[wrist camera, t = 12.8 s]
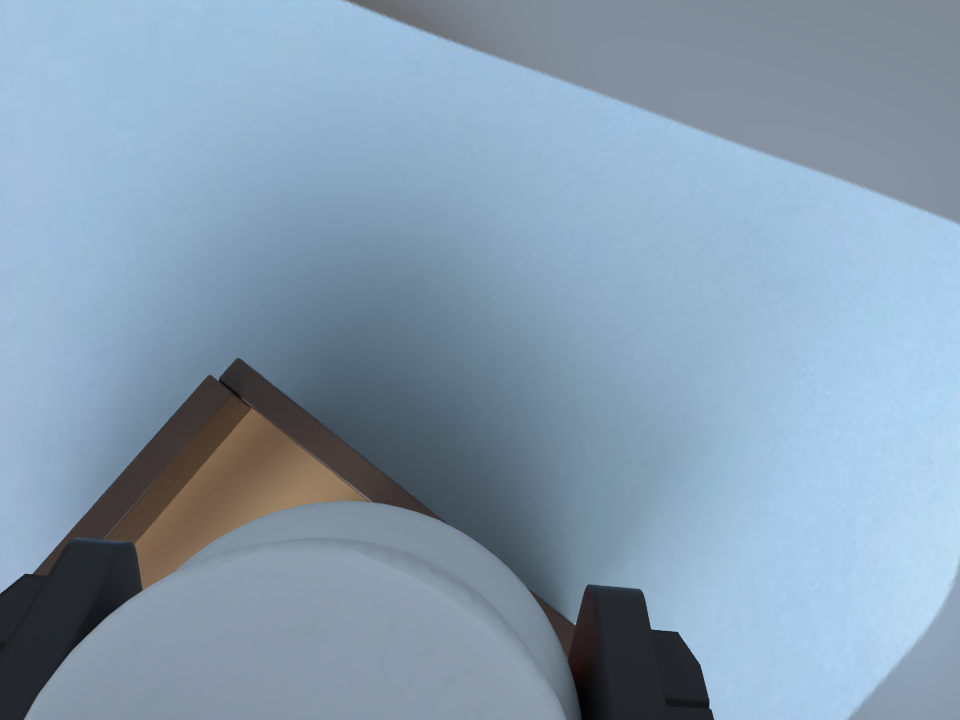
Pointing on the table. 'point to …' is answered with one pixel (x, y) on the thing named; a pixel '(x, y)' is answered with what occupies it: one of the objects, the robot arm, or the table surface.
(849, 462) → the table surface
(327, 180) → the table surface
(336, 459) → the wooden tray box
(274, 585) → the pill bottle
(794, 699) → the table surface
